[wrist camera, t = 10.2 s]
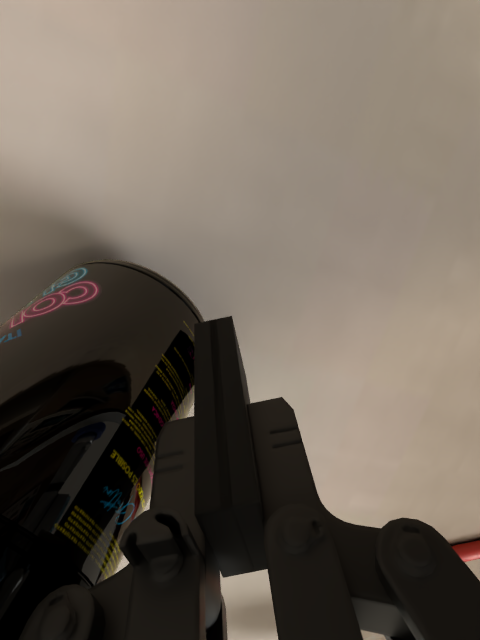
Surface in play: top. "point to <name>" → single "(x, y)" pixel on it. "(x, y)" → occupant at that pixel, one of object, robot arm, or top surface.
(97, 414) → the supplement container
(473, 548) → the red rod with block
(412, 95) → the top surface
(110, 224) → the top surface
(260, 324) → the top surface
